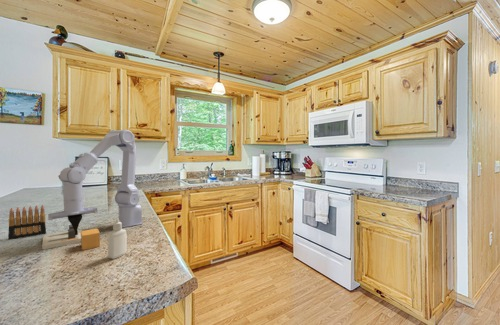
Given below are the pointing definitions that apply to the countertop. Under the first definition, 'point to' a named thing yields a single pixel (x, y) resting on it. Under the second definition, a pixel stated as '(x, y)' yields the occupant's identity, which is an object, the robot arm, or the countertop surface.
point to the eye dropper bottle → (117, 241)
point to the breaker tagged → (71, 233)
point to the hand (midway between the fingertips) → (75, 234)
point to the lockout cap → (90, 239)
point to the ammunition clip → (29, 228)
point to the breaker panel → (59, 240)
